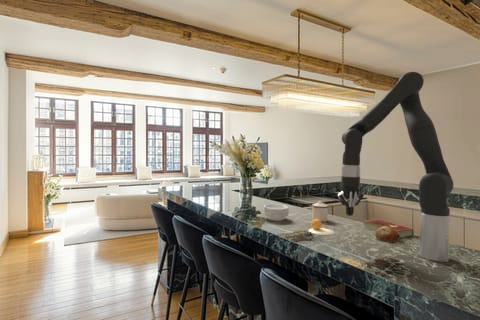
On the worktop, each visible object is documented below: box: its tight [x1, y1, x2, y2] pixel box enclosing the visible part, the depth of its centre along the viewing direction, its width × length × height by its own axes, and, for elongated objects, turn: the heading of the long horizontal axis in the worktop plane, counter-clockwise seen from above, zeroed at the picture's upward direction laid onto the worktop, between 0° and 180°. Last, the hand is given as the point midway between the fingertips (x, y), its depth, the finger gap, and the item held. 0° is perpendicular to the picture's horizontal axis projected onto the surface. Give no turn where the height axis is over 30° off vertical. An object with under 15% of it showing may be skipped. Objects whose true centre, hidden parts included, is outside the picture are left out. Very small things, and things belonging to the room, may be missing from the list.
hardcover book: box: [362, 219, 415, 238], centre depth 148 cm, size 12×21×4 cm, turn 23°
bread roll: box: [375, 226, 402, 243], centre depth 134 cm, size 10×10×8 cm
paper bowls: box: [263, 203, 290, 222], centre depth 171 cm, size 15×15×8 cm
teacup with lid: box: [311, 200, 329, 223], centre depth 171 cm, size 12×9×12 cm
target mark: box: [308, 227, 336, 236], centre depth 145 cm, size 13×13×1 cm
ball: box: [310, 219, 323, 230], centre depth 149 cm, size 6×6×6 cm
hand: (349, 215), depth 122 cm, fingers closed
